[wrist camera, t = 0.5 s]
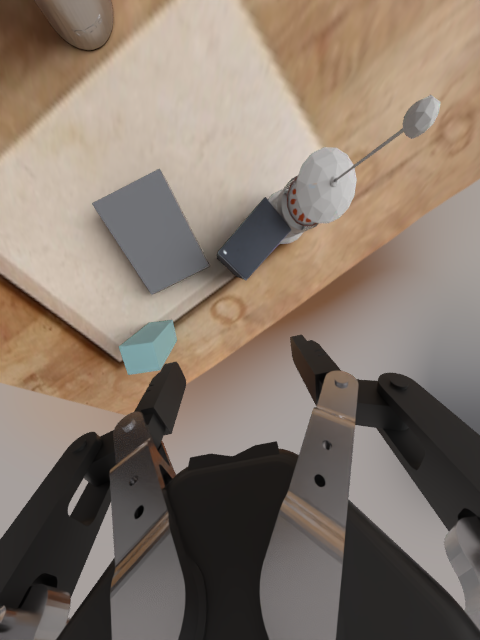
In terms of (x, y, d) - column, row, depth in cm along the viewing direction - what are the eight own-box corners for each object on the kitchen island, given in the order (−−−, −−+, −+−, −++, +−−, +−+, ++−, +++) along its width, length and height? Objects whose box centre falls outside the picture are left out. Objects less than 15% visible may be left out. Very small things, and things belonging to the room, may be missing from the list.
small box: (238, 279, 37) (246, 283, 27) (215, 257, 35) (214, 252, 25) (272, 240, 36) (294, 230, 26) (250, 215, 34) (264, 194, 24)
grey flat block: (107, 211, 30) (91, 203, 27) (166, 181, 30) (159, 168, 26) (158, 291, 36) (151, 294, 32) (209, 266, 35) (208, 266, 32)
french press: (252, 210, 33) (337, 68, 10) (300, 171, 32) (527, -93, 9) (278, 253, 36) (392, 227, 13) (323, 218, 35) (538, 119, 12)
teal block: (149, 322, 37) (118, 346, 26) (172, 319, 38) (152, 342, 26) (154, 343, 39) (128, 374, 27) (177, 340, 39) (160, 370, 28)
